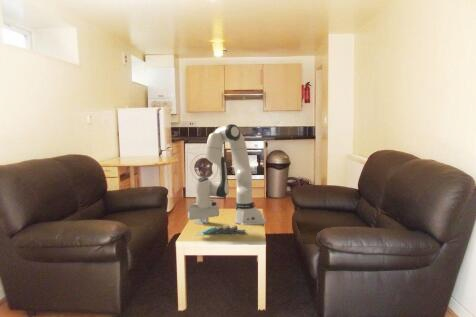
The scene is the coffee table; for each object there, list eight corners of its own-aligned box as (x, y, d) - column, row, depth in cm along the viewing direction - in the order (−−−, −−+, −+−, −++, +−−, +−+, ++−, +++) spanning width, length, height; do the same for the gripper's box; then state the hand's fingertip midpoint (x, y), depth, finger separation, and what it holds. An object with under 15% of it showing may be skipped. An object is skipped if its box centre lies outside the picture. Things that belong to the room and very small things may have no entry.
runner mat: (237, 232, 222) (236, 231, 222) (236, 235, 215) (236, 235, 215) (197, 232, 223) (197, 231, 223) (195, 236, 216) (195, 235, 216)
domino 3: (218, 232, 221) (230, 227, 221) (218, 234, 217) (230, 230, 216) (217, 230, 221) (229, 225, 221) (217, 232, 217) (229, 227, 216)
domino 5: (232, 232, 221) (244, 232, 221) (232, 234, 217) (244, 234, 217) (232, 229, 221) (244, 229, 221) (232, 231, 217) (244, 231, 216)
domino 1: (204, 232, 221) (215, 228, 221) (203, 234, 217) (215, 230, 217) (203, 230, 221) (215, 225, 221) (202, 232, 217) (214, 228, 216)
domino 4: (226, 232, 221) (237, 227, 221) (225, 234, 217) (237, 229, 216) (225, 230, 221) (236, 225, 221) (224, 232, 217) (236, 227, 216)
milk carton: (194, 223, 243) (193, 197, 241) (202, 221, 248) (201, 195, 246) (201, 225, 238) (200, 198, 236) (208, 223, 243) (208, 196, 241)
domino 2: (211, 232, 221) (223, 228, 221) (211, 234, 217) (222, 230, 217) (210, 230, 221) (222, 225, 221) (210, 232, 217) (221, 227, 216)
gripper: (189, 206, 210) (189, 228, 211) (219, 202, 219) (220, 223, 220) (186, 204, 216) (186, 225, 217) (216, 200, 224) (216, 221, 226)
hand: (203, 224), depth 219 cm, fingers closed
